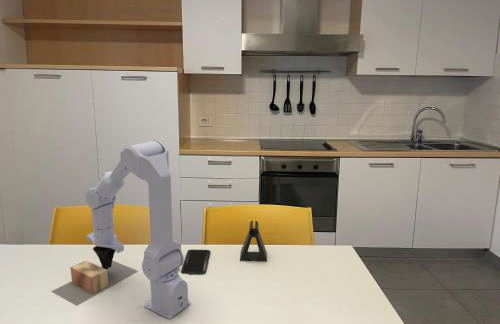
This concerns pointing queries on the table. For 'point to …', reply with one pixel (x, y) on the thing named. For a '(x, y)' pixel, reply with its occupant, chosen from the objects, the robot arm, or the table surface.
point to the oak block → (89, 276)
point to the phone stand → (262, 251)
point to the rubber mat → (81, 295)
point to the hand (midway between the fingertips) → (107, 267)
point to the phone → (196, 262)
